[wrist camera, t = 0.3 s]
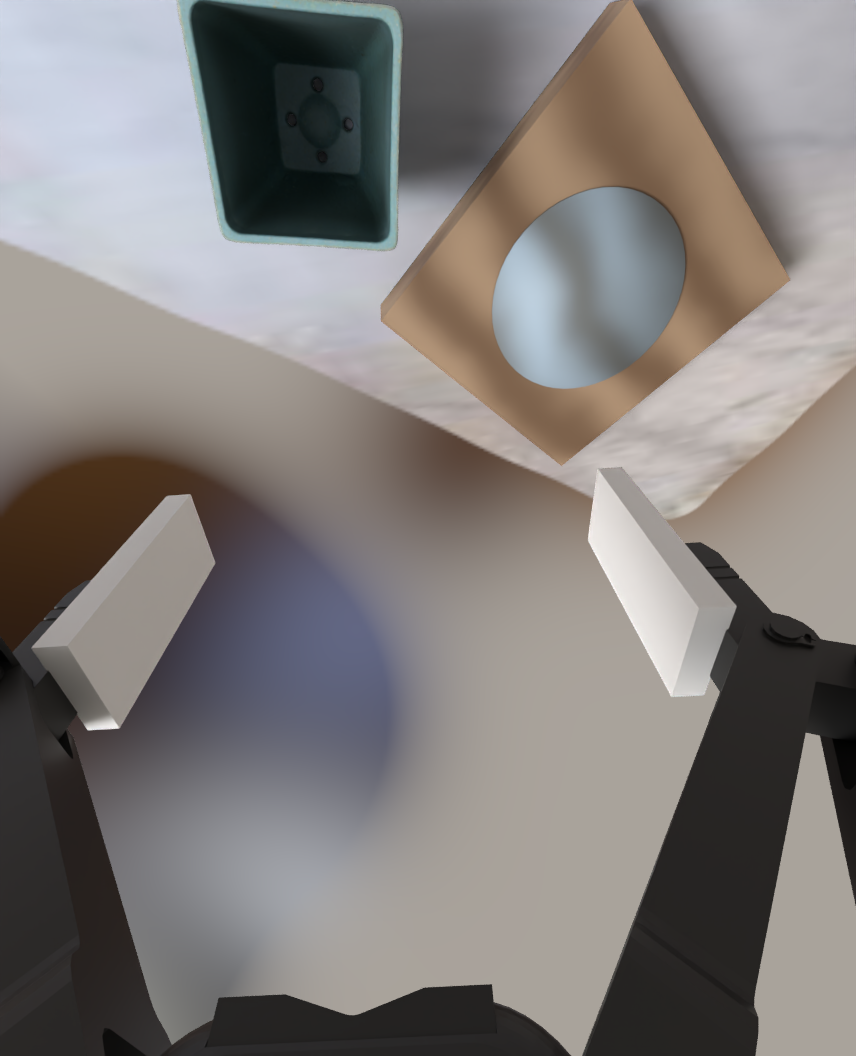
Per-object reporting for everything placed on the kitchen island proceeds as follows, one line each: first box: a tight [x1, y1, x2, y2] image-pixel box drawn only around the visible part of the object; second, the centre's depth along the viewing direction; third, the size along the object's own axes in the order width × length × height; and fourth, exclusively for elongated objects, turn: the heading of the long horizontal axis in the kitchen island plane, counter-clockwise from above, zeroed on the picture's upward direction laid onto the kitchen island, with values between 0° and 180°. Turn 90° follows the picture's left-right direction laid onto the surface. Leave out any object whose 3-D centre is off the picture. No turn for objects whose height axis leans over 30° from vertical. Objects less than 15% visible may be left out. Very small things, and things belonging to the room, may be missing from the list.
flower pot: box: [177, 0, 403, 251], centre depth 25 cm, size 9×9×9 cm
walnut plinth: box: [381, 0, 790, 466], centre depth 35 cm, size 20×20×3 cm
